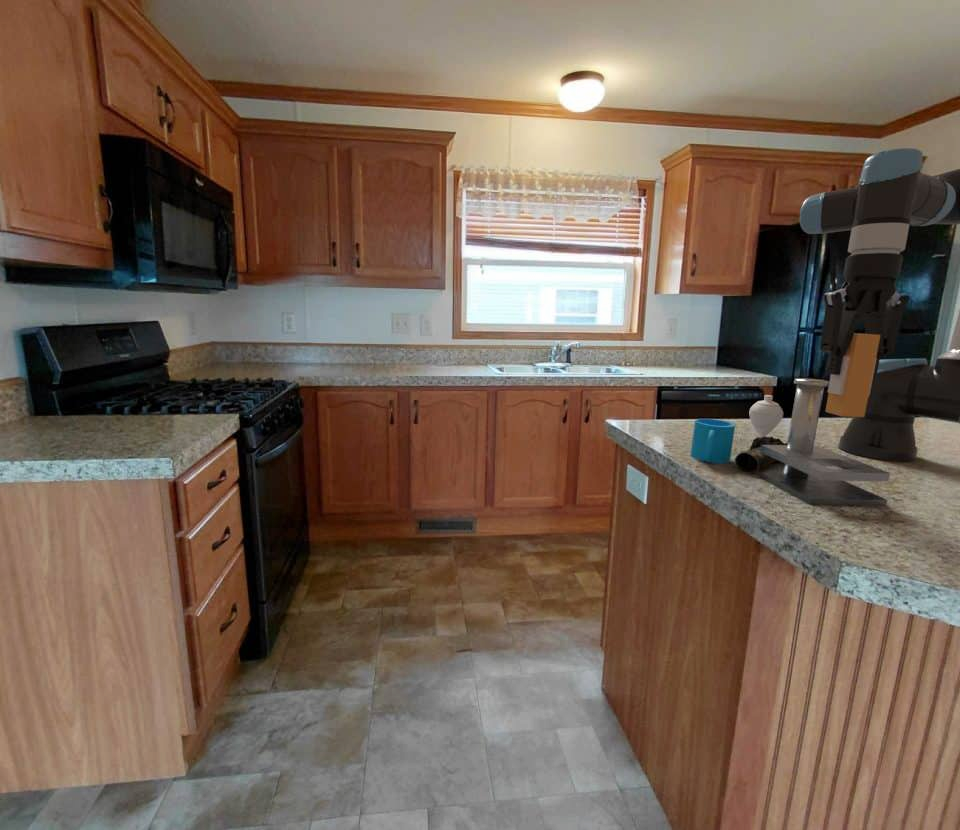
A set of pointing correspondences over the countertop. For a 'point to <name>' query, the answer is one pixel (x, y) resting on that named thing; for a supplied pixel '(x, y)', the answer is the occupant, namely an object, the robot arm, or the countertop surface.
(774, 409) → the spinning top
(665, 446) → the countertop surface
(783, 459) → the two-tier gray stand
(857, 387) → the orange upright block
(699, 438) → the mug
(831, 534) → the countertop surface
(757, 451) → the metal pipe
